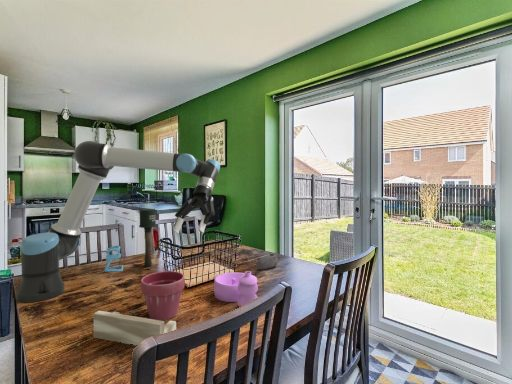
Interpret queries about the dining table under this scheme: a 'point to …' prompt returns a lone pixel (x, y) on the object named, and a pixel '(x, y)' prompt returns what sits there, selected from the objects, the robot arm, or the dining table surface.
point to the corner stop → (128, 327)
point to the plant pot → (162, 293)
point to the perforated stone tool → (267, 261)
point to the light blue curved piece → (113, 257)
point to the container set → (236, 287)
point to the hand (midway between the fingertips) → (187, 231)
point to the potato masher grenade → (147, 231)
